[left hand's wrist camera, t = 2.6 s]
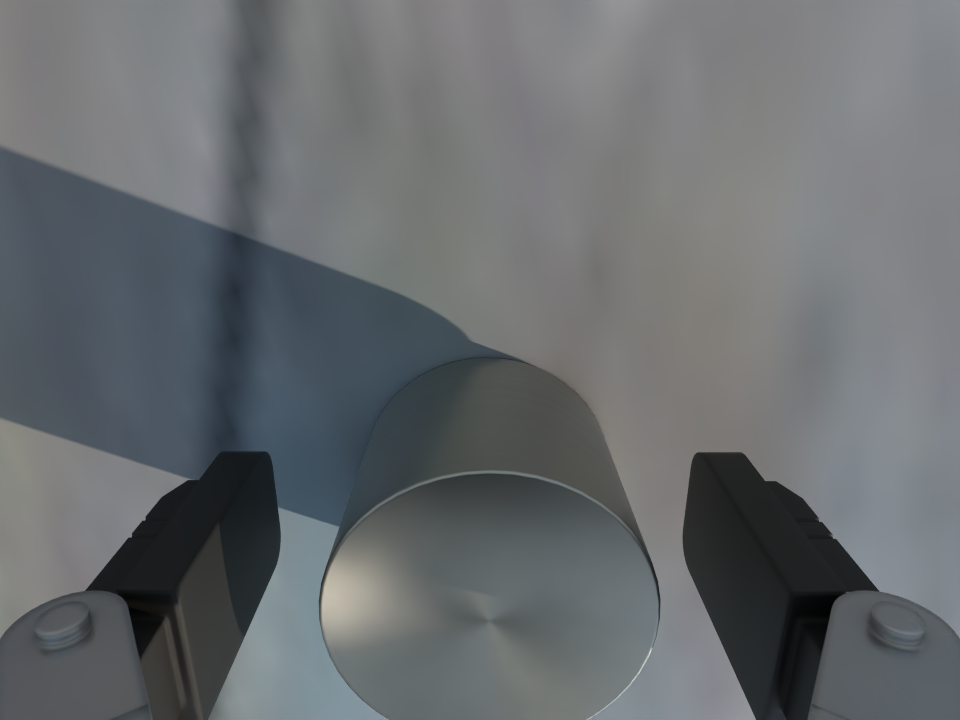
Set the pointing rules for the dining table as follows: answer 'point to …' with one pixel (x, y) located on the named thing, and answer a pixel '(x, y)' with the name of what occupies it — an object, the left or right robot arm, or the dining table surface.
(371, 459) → the tin
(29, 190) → the dining table surface
